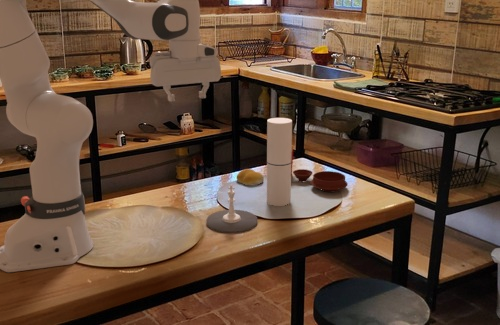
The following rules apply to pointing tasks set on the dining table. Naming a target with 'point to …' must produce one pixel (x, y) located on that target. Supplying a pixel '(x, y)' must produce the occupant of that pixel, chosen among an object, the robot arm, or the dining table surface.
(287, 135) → the cylindrical container
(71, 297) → the dining table surface
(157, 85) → the robot arm
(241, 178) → the bread roll
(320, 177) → the pottery
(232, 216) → the chess piece
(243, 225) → the charcoal plate
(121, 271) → the dining table surface
